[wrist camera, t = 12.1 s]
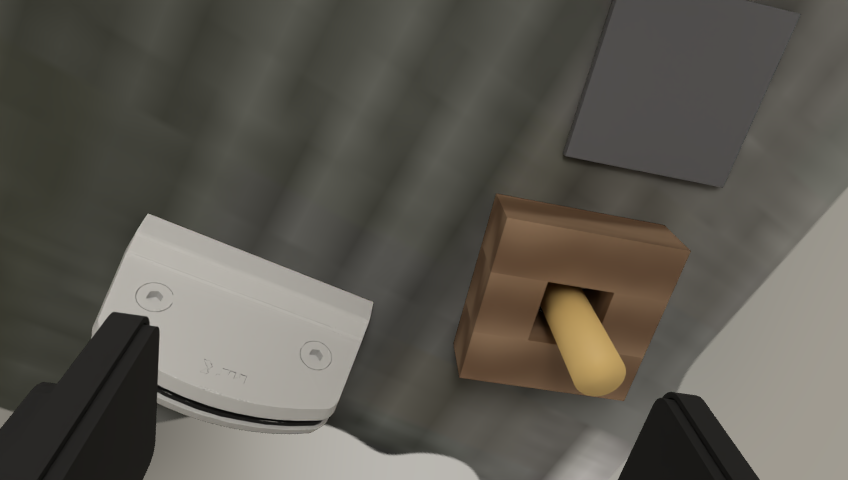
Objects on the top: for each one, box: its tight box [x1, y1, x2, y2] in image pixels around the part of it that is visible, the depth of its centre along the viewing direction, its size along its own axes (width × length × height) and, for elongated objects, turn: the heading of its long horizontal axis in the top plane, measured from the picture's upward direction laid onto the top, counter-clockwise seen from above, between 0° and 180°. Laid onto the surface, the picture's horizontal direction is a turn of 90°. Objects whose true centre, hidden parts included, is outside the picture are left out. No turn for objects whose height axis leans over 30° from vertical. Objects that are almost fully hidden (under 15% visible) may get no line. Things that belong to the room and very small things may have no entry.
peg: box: [540, 282, 626, 396], centre depth 39 cm, size 3×3×10 cm
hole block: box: [454, 194, 691, 401], centre depth 41 cm, size 12×12×4 cm
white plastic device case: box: [91, 214, 373, 434], centre depth 39 cm, size 17×5×10 cm, turn 63°
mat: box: [563, 0, 801, 188], centre depth 37 cm, size 11×11×1 cm
